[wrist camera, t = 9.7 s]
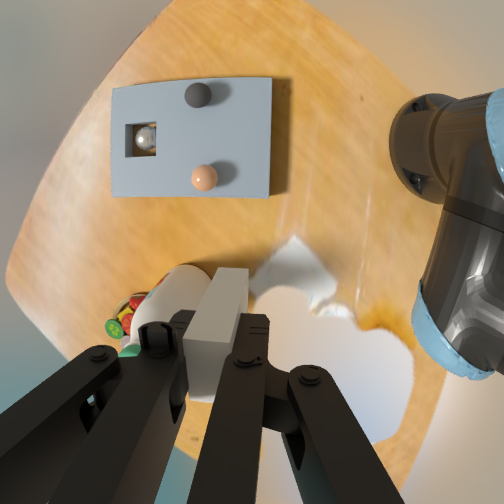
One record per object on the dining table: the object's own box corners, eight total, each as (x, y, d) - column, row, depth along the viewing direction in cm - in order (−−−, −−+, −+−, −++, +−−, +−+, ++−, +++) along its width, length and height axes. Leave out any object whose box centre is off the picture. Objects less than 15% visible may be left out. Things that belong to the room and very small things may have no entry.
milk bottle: (191, 252, 44) (132, 324, 25) (226, 294, 45) (192, 387, 26) (154, 281, 46) (86, 358, 27) (187, 320, 47) (139, 411, 28)
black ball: (214, 84, 34) (208, 78, 31) (213, 109, 35) (208, 105, 32) (188, 86, 35) (181, 80, 32) (188, 110, 36) (180, 106, 33)
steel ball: (160, 124, 36) (135, 125, 35) (159, 149, 37) (134, 150, 36) (159, 127, 39) (135, 127, 38) (158, 150, 40) (135, 151, 39)
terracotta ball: (220, 163, 37) (215, 164, 34) (220, 189, 38) (215, 193, 35) (194, 164, 38) (187, 164, 35) (194, 189, 39) (187, 192, 36)
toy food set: (207, 339, 48) (203, 350, 45) (155, 373, 51) (149, 384, 48) (148, 275, 46) (140, 283, 43) (101, 318, 49) (92, 327, 46)
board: (272, 82, 36) (271, 77, 34) (269, 196, 41) (268, 198, 38) (120, 91, 38) (112, 88, 35) (120, 194, 42) (111, 197, 40)
